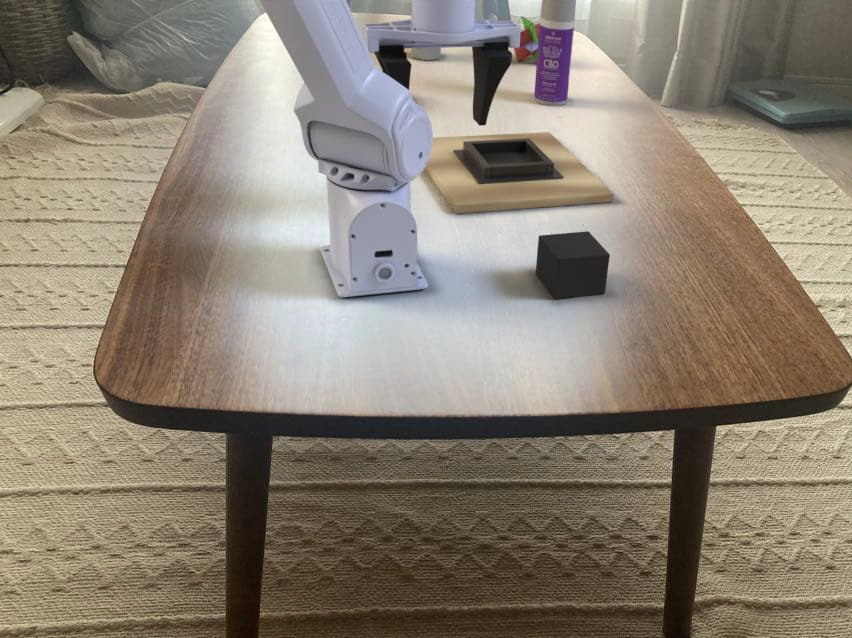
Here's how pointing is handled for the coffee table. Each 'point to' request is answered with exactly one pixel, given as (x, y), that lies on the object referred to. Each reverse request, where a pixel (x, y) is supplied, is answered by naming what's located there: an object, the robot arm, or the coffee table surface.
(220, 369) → the coffee table surface
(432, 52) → the grey upright cylinder
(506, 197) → the pad base
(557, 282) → the black cube
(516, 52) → the geometric puzzle
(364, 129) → the robot arm
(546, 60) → the container
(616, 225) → the coffee table surface
